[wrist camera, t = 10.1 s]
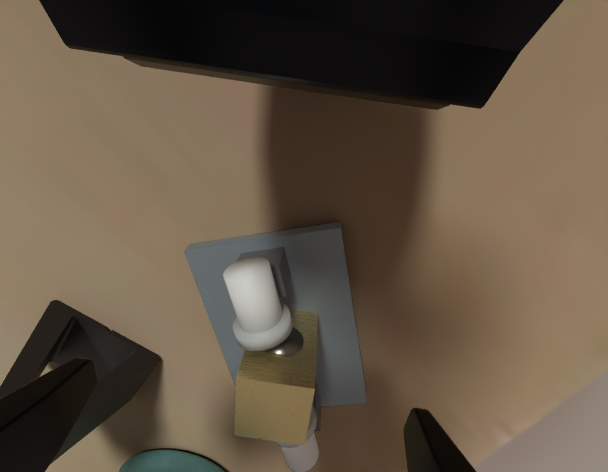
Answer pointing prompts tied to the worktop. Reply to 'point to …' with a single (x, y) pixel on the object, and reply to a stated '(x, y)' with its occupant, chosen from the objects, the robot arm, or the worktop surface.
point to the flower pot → (168, 462)
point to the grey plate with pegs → (285, 310)
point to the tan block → (279, 386)
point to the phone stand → (89, 344)
